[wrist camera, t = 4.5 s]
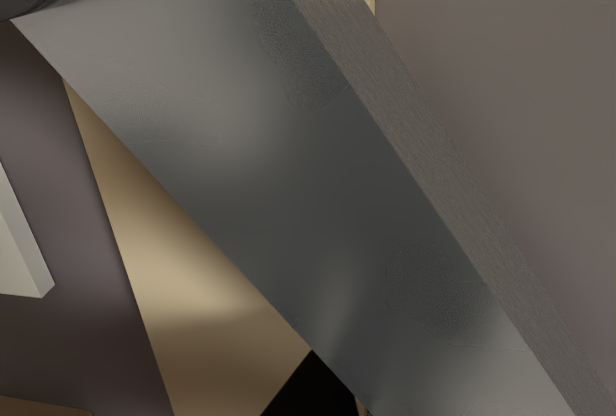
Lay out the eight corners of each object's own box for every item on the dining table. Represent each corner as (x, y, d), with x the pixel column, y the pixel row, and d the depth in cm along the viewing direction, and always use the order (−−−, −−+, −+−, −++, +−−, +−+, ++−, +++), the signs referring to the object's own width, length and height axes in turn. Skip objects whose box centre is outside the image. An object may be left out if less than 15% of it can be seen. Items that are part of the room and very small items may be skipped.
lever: (7, -178, 7) (-429, -270, 3) (145, -404, 5) (-383, -1002, 2) (505, 449, 12) (539, 670, 8) (645, 423, 10) (755, 678, 7)
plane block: (366, 432, 15) (363, 462, 14) (192, 404, 16) (179, 431, 15) (381, -362, 6) (375, -405, 5) (-13, -289, 7) (-70, -316, 6)
